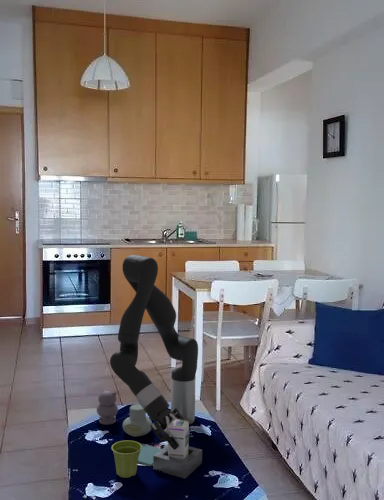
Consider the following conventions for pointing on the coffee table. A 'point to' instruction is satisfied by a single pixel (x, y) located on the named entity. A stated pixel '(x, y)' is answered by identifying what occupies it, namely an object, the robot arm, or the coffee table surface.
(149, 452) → the mat
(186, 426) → the syrup box
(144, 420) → the air freshener
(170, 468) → the collar
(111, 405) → the cat figurine
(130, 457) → the plant pot
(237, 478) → the coffee table surface
